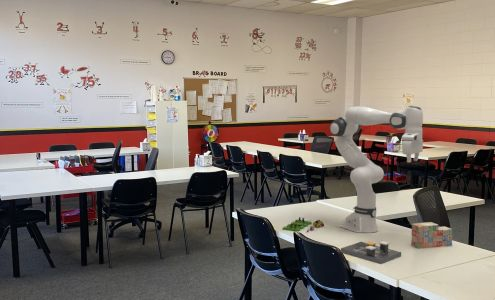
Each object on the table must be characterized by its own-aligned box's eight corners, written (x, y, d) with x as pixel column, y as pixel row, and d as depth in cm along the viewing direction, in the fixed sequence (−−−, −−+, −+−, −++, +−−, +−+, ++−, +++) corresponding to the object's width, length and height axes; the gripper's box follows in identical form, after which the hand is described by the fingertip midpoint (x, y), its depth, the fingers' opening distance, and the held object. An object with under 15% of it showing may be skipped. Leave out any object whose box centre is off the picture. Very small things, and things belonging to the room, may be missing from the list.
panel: (340, 252, 249) (340, 248, 249) (361, 245, 261) (361, 241, 261) (381, 263, 231) (381, 259, 231) (401, 256, 243) (401, 251, 243)
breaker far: (379, 249, 247) (379, 242, 247) (382, 247, 249) (383, 241, 249) (385, 250, 244) (385, 244, 244) (389, 249, 247) (389, 242, 246)
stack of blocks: (444, 242, 268) (445, 220, 267) (452, 245, 262) (453, 223, 261) (410, 245, 262) (411, 223, 261) (417, 248, 256) (418, 226, 255)
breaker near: (365, 253, 239) (365, 247, 239) (369, 252, 241) (369, 245, 241) (371, 255, 236) (371, 248, 236) (375, 254, 239) (376, 247, 238)
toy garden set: (296, 222, 312) (296, 215, 312) (325, 226, 303) (325, 218, 303) (282, 230, 292) (282, 223, 292) (312, 234, 283) (312, 227, 283)
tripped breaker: (365, 249, 246) (365, 243, 246) (369, 248, 248) (369, 241, 248) (371, 251, 243) (371, 244, 243) (375, 249, 246) (375, 243, 245)
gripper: (415, 134, 271) (414, 159, 272) (400, 136, 255) (399, 162, 257) (426, 135, 267) (425, 160, 268) (412, 137, 251) (411, 163, 253)
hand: (412, 161), depth 262 cm, fingers open, 8 cm apart
